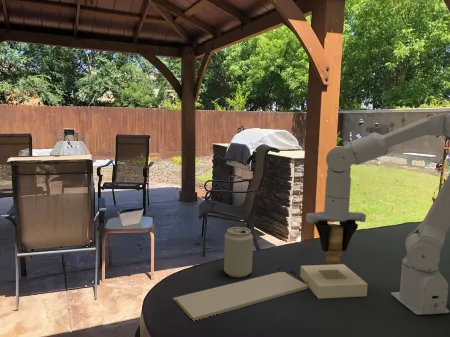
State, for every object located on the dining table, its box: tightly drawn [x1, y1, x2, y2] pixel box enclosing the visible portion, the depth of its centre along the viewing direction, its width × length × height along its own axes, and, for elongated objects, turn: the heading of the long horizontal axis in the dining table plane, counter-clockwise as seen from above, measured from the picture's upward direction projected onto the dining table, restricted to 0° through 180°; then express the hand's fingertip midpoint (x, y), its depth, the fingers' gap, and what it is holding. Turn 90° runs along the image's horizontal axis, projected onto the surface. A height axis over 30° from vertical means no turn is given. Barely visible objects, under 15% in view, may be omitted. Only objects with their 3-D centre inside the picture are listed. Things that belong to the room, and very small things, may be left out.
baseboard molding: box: [173, 266, 309, 322], centre depth 86 cm, size 31×3×12 cm
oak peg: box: [324, 223, 344, 265], centre depth 89 cm, size 4×4×9 cm
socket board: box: [299, 263, 369, 300], centre depth 91 cm, size 12×12×3 cm
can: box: [223, 226, 254, 279], centre depth 96 cm, size 8×8×12 cm
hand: (333, 250), depth 90 cm, fingers closed on oak peg, 4 cm apart
